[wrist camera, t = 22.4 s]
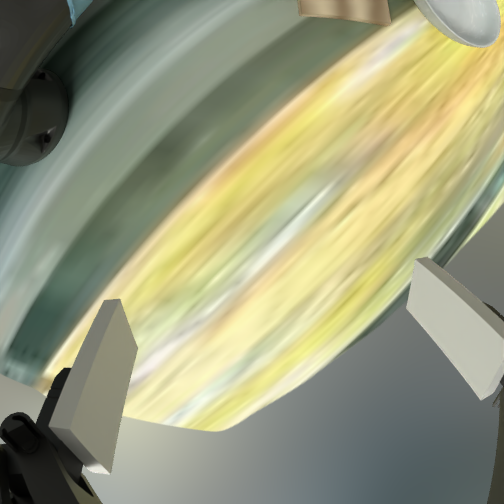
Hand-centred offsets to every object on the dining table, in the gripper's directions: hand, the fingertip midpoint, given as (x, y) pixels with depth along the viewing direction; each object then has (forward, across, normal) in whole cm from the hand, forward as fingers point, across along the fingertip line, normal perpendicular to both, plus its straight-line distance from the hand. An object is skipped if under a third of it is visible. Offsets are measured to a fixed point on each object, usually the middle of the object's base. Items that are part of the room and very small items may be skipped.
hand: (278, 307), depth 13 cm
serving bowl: (+32, +38, +32) cm, 59 cm away
